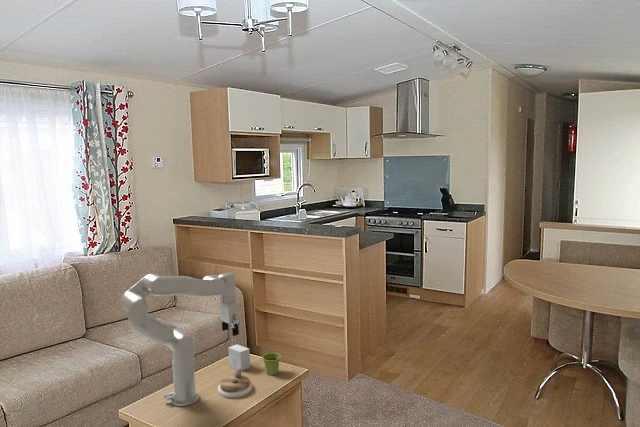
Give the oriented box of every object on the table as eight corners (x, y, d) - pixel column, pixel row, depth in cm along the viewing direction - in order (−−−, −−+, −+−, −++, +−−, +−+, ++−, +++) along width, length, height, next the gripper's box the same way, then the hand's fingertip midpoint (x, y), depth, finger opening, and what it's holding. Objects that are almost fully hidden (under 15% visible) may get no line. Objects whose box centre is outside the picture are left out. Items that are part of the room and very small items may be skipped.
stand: (221, 400, 213) (220, 396, 212) (215, 385, 228) (215, 381, 227) (255, 393, 218) (255, 389, 218) (248, 379, 233) (247, 374, 233)
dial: (244, 393, 215) (244, 382, 214) (215, 391, 217) (215, 380, 216) (253, 378, 228) (253, 368, 228) (226, 377, 231) (225, 367, 230)
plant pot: (285, 371, 241) (284, 355, 240) (273, 378, 233) (272, 362, 232) (271, 367, 246) (270, 351, 245) (259, 374, 238) (258, 357, 237)
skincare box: (250, 367, 247) (250, 348, 246) (241, 371, 242) (240, 352, 241) (238, 362, 254) (237, 343, 252) (228, 366, 249) (227, 347, 248)
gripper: (212, 296, 229) (214, 330, 231) (230, 304, 216) (233, 339, 218) (225, 293, 234) (228, 325, 236) (244, 300, 221) (246, 334, 223)
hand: (230, 332), depth 227 cm, fingers open, 9 cm apart
